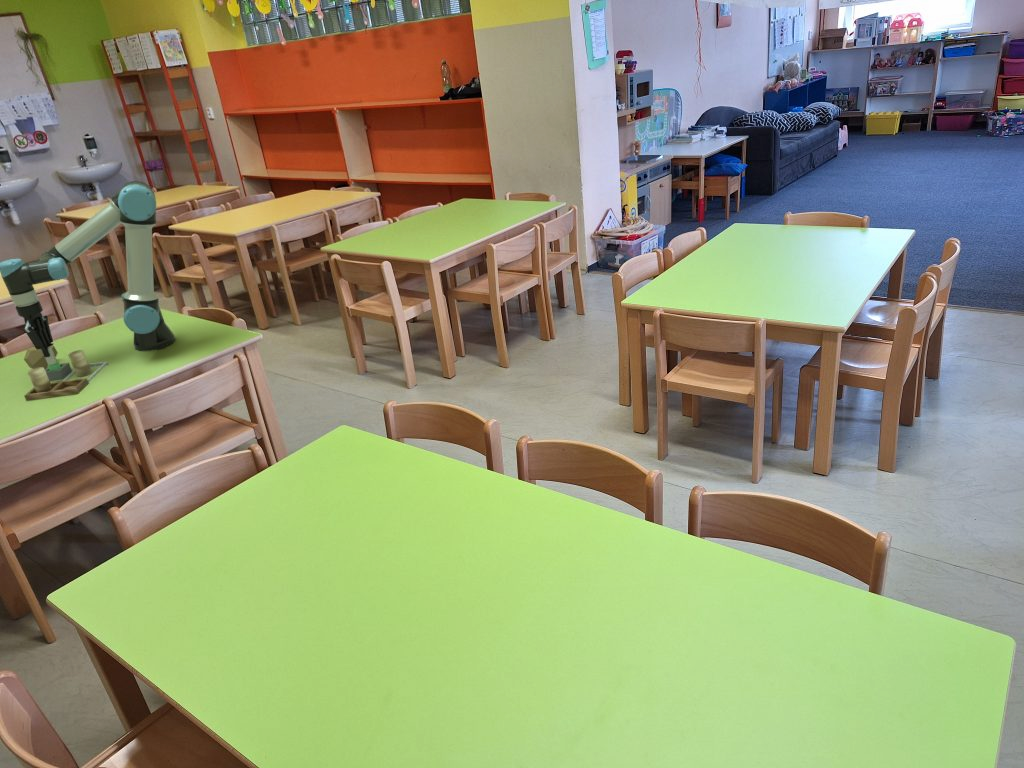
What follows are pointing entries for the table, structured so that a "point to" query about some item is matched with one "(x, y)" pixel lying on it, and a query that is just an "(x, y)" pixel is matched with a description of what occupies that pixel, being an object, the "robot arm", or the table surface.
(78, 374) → the billet
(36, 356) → the low-poly potato
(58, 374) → the console
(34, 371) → the billet
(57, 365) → the button
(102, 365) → the grey-green angled strip
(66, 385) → the wooden divided tray
